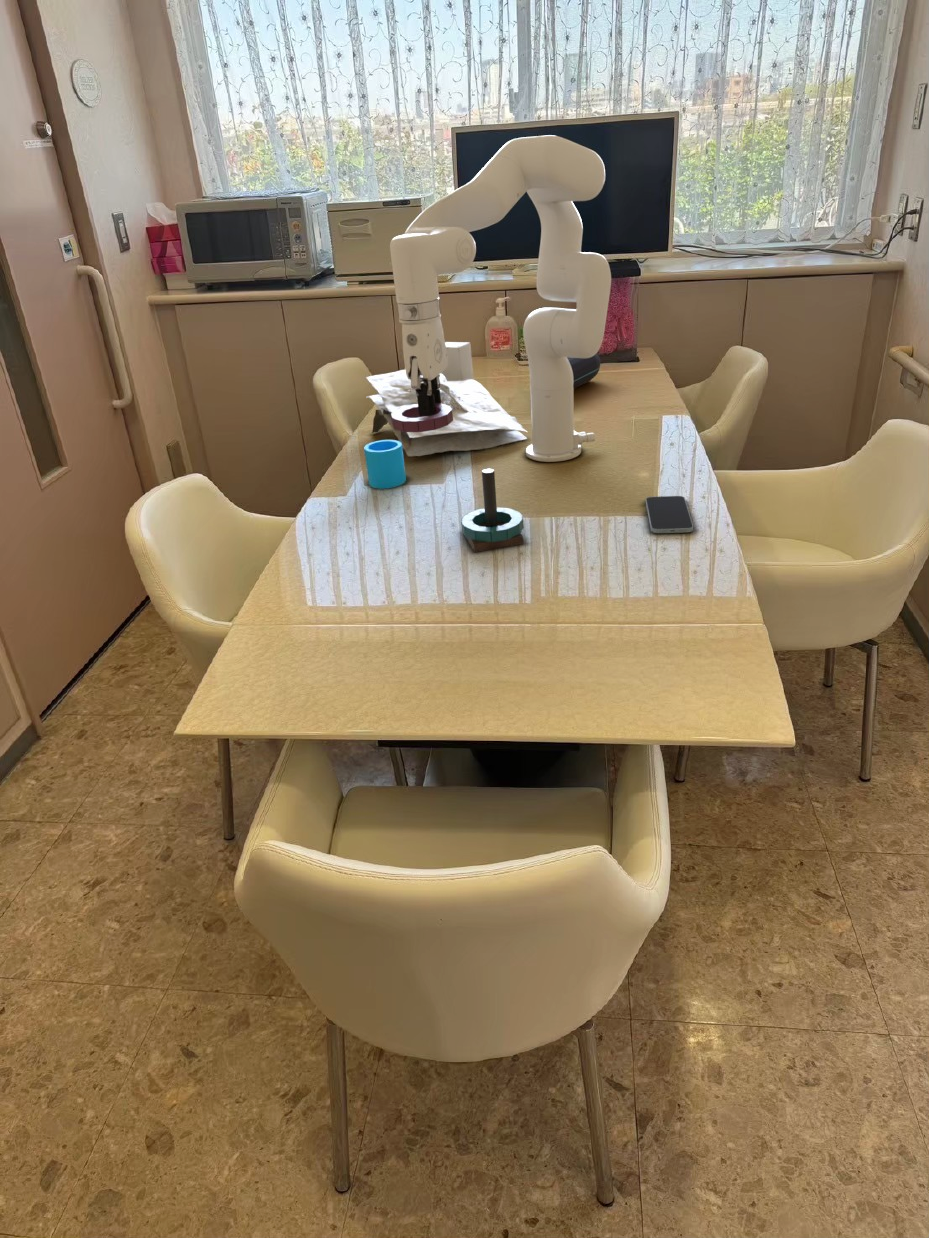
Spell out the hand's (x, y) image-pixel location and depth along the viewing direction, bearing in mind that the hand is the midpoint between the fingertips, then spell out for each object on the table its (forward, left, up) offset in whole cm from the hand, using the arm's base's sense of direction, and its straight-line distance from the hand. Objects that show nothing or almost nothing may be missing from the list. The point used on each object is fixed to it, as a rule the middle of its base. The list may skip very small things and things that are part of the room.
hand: (430, 412), depth 155 cm
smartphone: (-39, +21, -20) cm, 49 cm away
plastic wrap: (-11, -49, -20) cm, 54 cm away
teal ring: (-7, +16, -18) cm, 25 cm away
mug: (+7, -23, -20) cm, 31 cm away
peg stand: (-6, +17, -20) cm, 27 cm away
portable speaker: (-52, -74, -20) cm, 93 cm away
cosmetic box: (-21, -79, -20) cm, 84 cm away
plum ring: (+2, +4, -1) cm, 4 cm away
